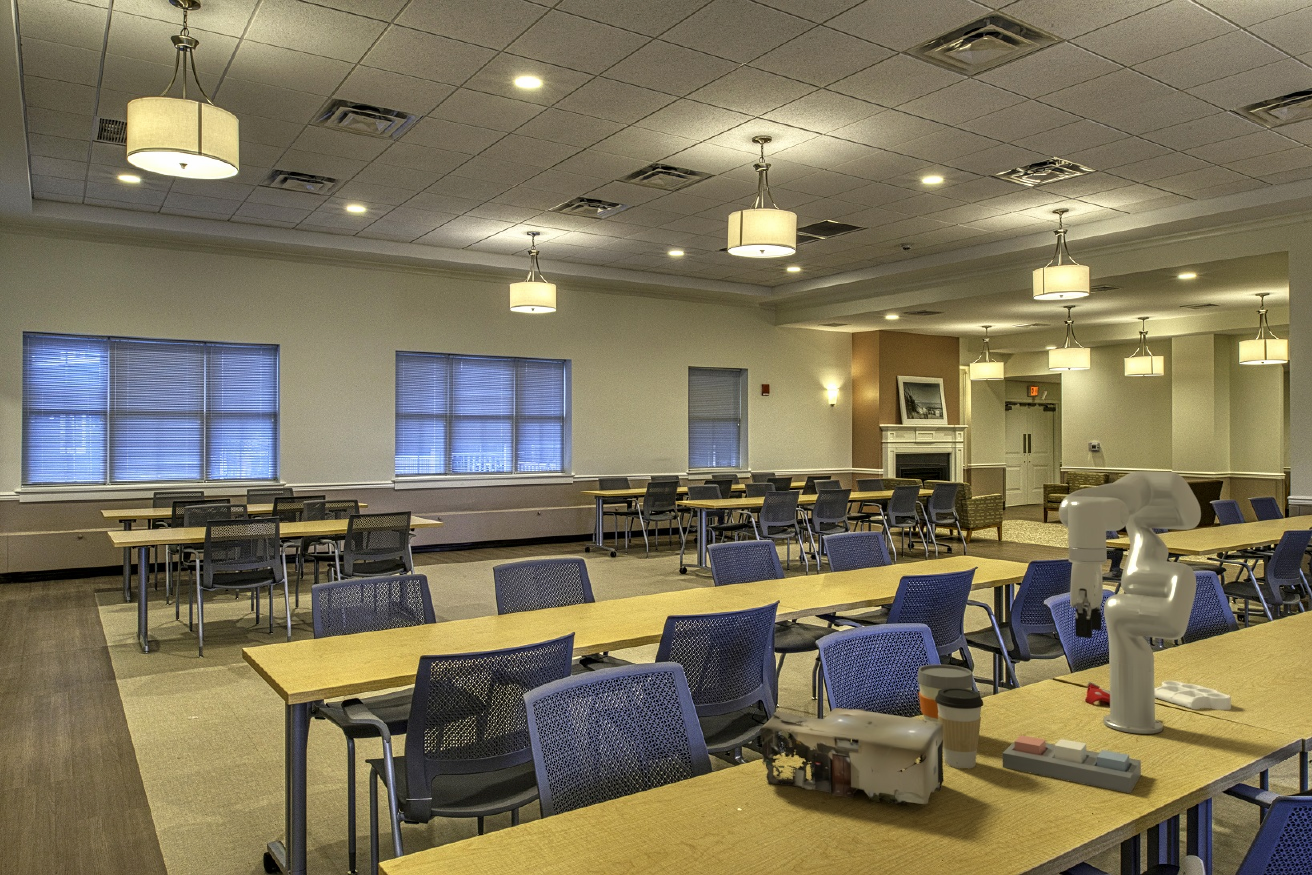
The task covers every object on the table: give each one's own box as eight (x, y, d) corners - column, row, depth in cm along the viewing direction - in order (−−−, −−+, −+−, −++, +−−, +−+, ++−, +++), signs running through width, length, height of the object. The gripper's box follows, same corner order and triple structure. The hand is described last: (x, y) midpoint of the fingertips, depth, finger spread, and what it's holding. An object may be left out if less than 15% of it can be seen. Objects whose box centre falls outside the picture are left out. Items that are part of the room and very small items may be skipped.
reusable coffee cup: (951, 723, 215) (950, 662, 215) (985, 739, 203) (984, 674, 204) (907, 729, 211) (906, 666, 211) (939, 746, 199) (938, 679, 200)
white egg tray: (1141, 696, 238) (1180, 690, 243) (1202, 715, 221) (1243, 708, 227) (1140, 684, 238) (1180, 678, 243) (1202, 701, 221) (1243, 695, 227)
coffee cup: (986, 759, 191) (985, 689, 191) (982, 774, 182) (981, 701, 182) (938, 752, 195) (937, 684, 195) (932, 767, 186) (931, 696, 186)
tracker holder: (1132, 700, 230) (1109, 696, 226) (1126, 716, 231) (1103, 712, 226) (1092, 679, 241) (1069, 675, 236) (1087, 694, 242) (1064, 690, 237)
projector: (790, 756, 192) (789, 696, 192) (944, 784, 177) (943, 718, 176) (758, 788, 176) (757, 722, 176) (925, 822, 161) (924, 749, 160)
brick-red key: (1021, 753, 192) (1021, 735, 192) (1045, 758, 189) (1045, 739, 189) (1014, 760, 188) (1014, 741, 188) (1039, 765, 185) (1039, 745, 185)
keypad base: (1018, 751, 195) (1018, 737, 195) (1140, 774, 181) (1140, 760, 181) (1002, 767, 186) (1002, 752, 186) (1130, 793, 171) (1129, 777, 171)
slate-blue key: (1102, 769, 182) (1102, 749, 182) (1129, 774, 179) (1129, 754, 179) (1097, 776, 178) (1096, 756, 178) (1124, 782, 175) (1124, 761, 175)
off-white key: (1060, 757, 187) (1060, 738, 187) (1086, 762, 184) (1086, 743, 184) (1054, 764, 183) (1054, 745, 183) (1081, 769, 180) (1080, 750, 180)
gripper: (1078, 550, 203) (1079, 625, 203) (1059, 558, 190) (1060, 638, 190) (1114, 552, 199) (1115, 628, 199) (1097, 560, 185) (1099, 642, 185)
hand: (1088, 633), depth 194 cm, fingers open, 9 cm apart
